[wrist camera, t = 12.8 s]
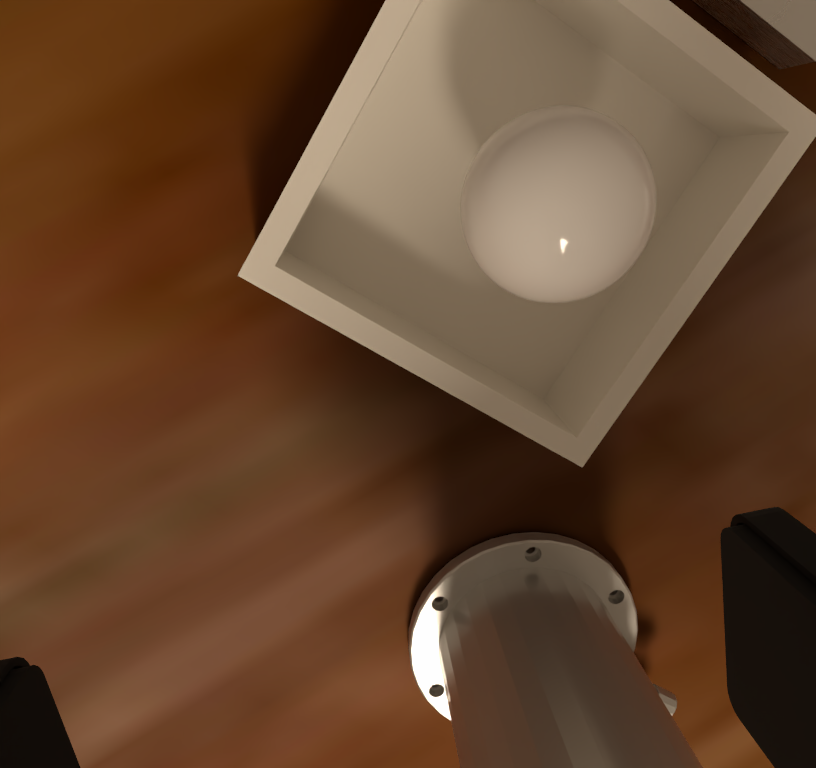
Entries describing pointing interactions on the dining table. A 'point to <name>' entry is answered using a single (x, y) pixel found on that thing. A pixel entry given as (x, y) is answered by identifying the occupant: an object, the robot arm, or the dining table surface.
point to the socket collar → (770, 27)
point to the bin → (444, 177)
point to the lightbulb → (558, 204)
